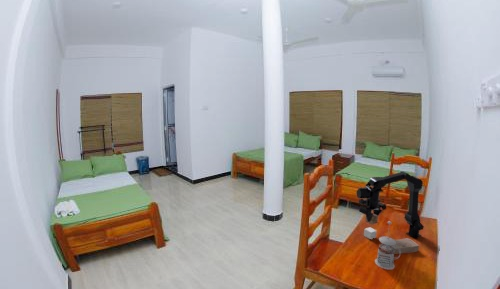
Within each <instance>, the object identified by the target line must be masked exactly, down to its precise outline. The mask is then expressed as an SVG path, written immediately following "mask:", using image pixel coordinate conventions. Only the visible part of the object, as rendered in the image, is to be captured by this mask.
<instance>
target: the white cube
mask: <svg viewBox="0 0 500 289" xmlns="http://www.w3.org/2000/svg"><path fill="white" fill-rule="evenodd" d="M363 236H364V237H365V238H367V239H369V240H370V239H371V240H373V238H374V239H375V238H377V229H374V228H372V227H371V226H370V227H366V228H364V232H363Z"/></svg>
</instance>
